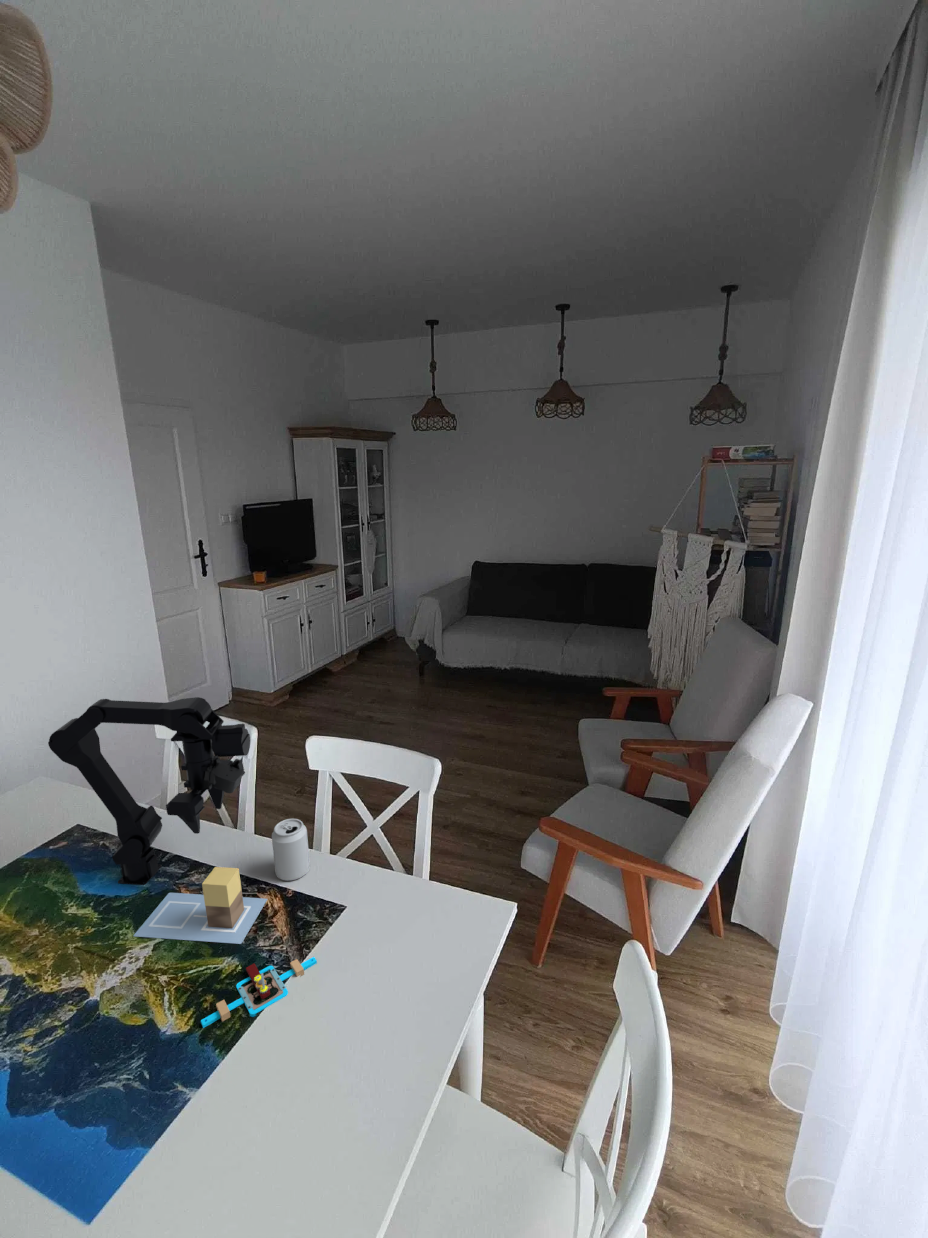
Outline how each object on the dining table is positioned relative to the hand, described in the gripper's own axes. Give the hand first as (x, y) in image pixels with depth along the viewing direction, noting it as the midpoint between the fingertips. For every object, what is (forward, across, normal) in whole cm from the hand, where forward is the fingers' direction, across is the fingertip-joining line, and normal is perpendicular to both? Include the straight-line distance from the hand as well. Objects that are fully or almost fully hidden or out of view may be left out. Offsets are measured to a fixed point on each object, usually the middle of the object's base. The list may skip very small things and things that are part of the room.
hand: (208, 820), depth 128 cm
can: (+13, +1, -18) cm, 22 cm away
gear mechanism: (+14, -29, -24) cm, 40 cm away
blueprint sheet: (+13, -14, -5) cm, 20 cm away
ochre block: (+8, -14, -10) cm, 19 cm away
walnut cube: (+13, -14, -10) cm, 21 cm away
